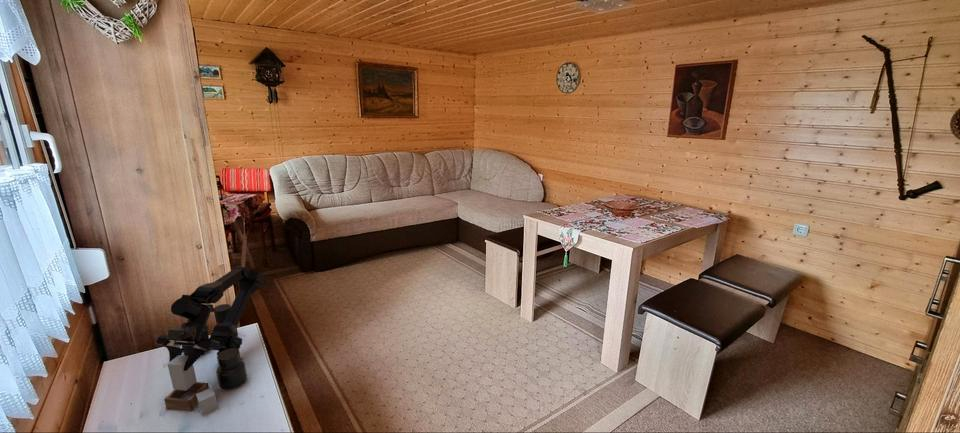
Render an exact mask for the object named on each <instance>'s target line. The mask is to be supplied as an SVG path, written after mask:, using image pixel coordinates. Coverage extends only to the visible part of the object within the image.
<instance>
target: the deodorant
mask: <svg viewBox="0 0 960 433" xmlns="http://www.w3.org/2000/svg"><path fill="white" fill-rule="evenodd" d="M231 306H232V305H231V304H228V303H223V304H219V305H216V306H214V309H215V312H213V314H214V320H215V324H216V325H221V324H222V323H223V322H224V320H225V318H226V316H227V314H228V312H229V310H230V308H231ZM216 325H215V326H216Z"/></svg>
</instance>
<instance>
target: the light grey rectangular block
mask: <svg viewBox="0 0 960 433" xmlns="http://www.w3.org/2000/svg"><path fill="white" fill-rule="evenodd" d="M187 358H188V356H185V355H182V354H181V355H178V356H177V357H176V358H174V359H173V360H172V361H170V362H168V363H167V368H168V373H169V377H170V381H171V384H172V388H173V391H174V390H185V391H187V390H188V389H189V388H190V387H191V386H192V385H193V384H194V383H195V382H198V381H197V377H196V371H195V367H194V364H193V365H192V366H191V367H190V368H189V369H188V370H187V371H184V366H185V363H186V361H187Z"/></svg>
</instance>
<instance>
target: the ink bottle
mask: <svg viewBox="0 0 960 433" xmlns="http://www.w3.org/2000/svg"><path fill="white" fill-rule="evenodd" d="M240 357H241V352H240V349H239V350H238V349H236V348H230V349H226V350H224V351H222V352H220V353H219V354H218V355H217V354H216V360H217V364H218V365H217V368H216V370H215V372H216V378H217V383H218V387H219V388H220V389H221V390H224V391H231V390H234V389H236V388H239V387H241V386H242V385H244V384H245V383H246V382H247V379H248V374H247V368H246V363H245V362H244V360H241V359H242V358H241V359H240Z"/></svg>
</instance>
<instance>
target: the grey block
mask: <svg viewBox="0 0 960 433" xmlns="http://www.w3.org/2000/svg"><path fill="white" fill-rule="evenodd" d="M196 397H197V402H198V405H197V407H198V409H199V412H200V414H201V415H202V416H203V415H206V414H208V413H211V412H212V411H214V409H215V410H216V408H217V409H218V408H219V406H218V402H217V397H216V393H215V391H214V389H213V387H209V389H207V390H204V391H202V392H200V393H197V394H196Z"/></svg>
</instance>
